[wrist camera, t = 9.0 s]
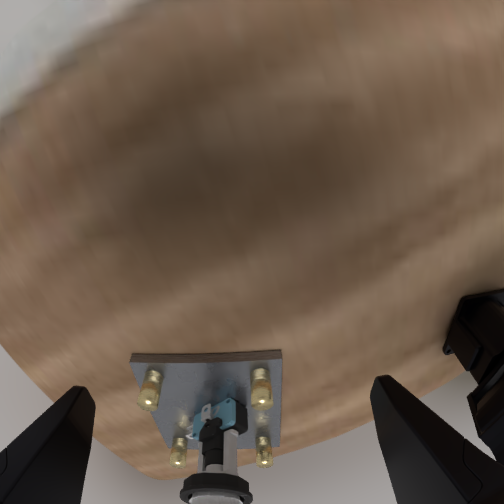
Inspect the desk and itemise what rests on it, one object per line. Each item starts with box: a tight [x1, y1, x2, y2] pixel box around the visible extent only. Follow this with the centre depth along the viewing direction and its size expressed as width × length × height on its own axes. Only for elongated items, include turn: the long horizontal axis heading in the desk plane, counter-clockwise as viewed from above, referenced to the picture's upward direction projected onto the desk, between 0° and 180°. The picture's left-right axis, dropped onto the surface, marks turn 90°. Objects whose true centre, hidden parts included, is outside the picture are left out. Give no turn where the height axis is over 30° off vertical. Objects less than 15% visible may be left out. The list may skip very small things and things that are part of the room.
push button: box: [180, 398, 253, 504], centre depth 22 cm, size 7×5×10 cm
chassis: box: [129, 350, 282, 468], centre depth 26 cm, size 12×14×4 cm
